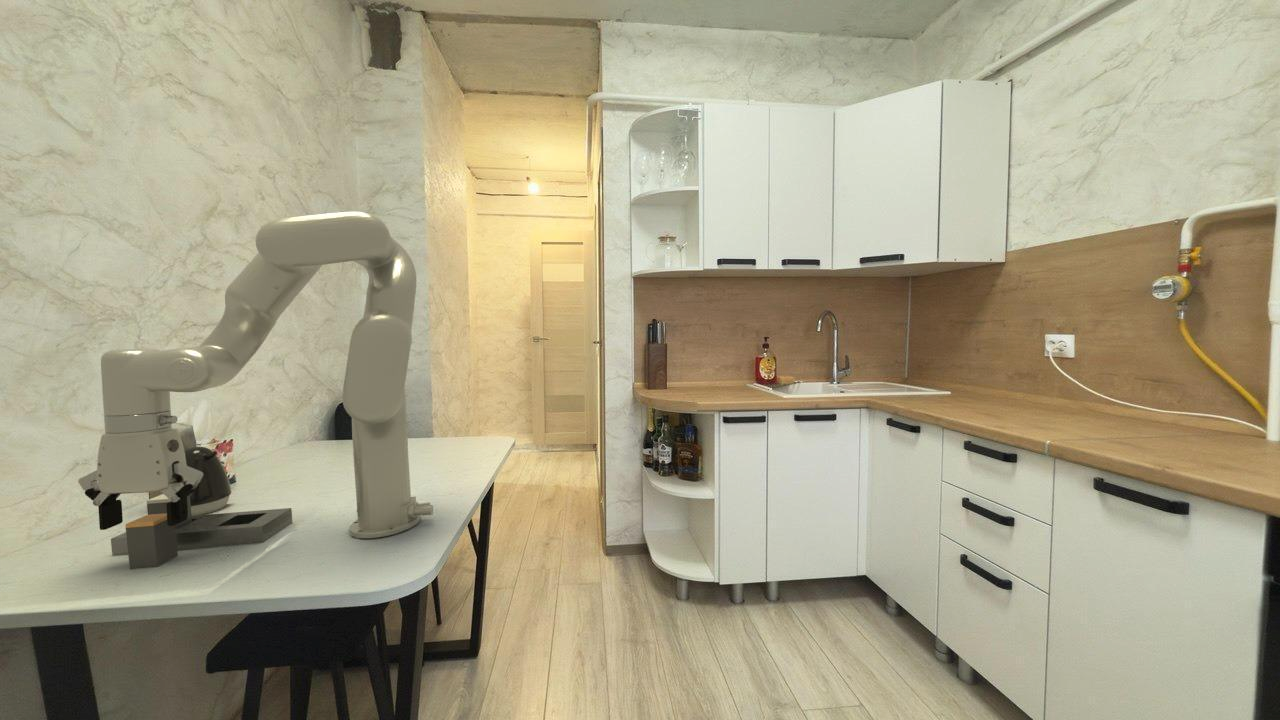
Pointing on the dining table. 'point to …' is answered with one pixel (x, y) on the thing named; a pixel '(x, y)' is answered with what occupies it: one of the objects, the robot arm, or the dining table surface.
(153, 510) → the twin plug
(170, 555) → the plug
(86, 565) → the dining table surface
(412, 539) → the dining table surface
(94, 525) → the dining table surface
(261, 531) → the grey slotted tray
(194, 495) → the dark grey dome
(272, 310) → the robot arm
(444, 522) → the dining table surface
